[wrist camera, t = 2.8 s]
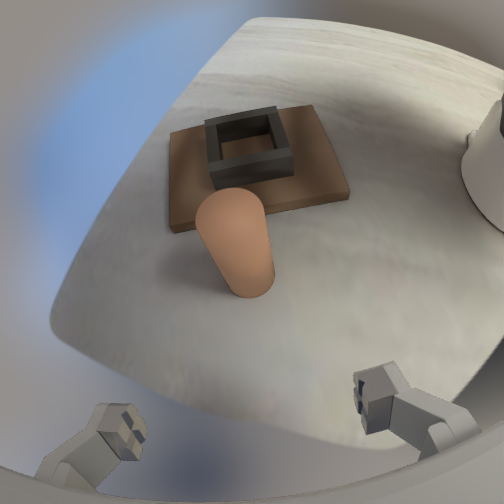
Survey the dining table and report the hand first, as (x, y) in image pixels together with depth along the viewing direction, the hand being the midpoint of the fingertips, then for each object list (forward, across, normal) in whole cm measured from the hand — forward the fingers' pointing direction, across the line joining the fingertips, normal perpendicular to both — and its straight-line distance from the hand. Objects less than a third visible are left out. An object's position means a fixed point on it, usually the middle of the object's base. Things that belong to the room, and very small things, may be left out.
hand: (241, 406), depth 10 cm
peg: (+19, 0, +3) cm, 19 cm away
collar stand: (+28, -2, -6) cm, 29 cm away
